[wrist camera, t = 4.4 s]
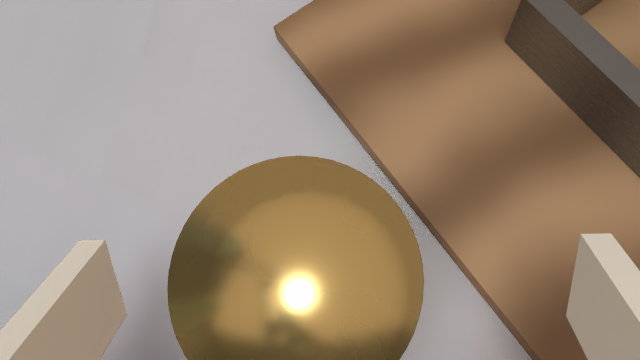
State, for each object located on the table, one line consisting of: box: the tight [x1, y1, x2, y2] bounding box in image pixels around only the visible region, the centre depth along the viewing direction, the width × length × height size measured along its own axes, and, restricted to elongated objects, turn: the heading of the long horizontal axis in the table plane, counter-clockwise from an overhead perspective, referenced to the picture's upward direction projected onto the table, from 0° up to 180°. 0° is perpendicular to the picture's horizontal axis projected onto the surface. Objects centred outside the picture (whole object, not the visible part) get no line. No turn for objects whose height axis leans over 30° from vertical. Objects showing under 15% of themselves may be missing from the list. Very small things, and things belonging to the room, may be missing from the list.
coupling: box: [168, 156, 424, 360], centre depth 15 cm, size 4×4×12 cm
